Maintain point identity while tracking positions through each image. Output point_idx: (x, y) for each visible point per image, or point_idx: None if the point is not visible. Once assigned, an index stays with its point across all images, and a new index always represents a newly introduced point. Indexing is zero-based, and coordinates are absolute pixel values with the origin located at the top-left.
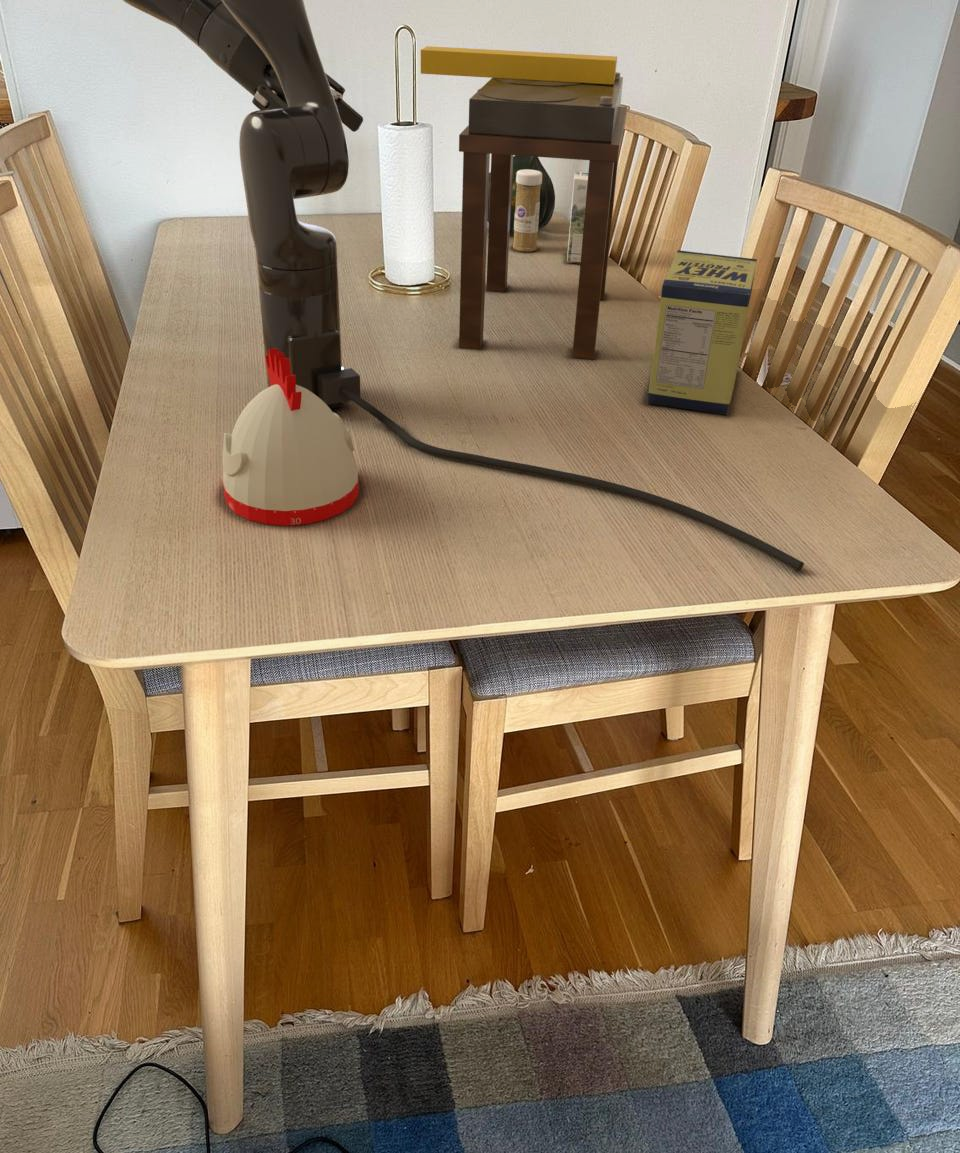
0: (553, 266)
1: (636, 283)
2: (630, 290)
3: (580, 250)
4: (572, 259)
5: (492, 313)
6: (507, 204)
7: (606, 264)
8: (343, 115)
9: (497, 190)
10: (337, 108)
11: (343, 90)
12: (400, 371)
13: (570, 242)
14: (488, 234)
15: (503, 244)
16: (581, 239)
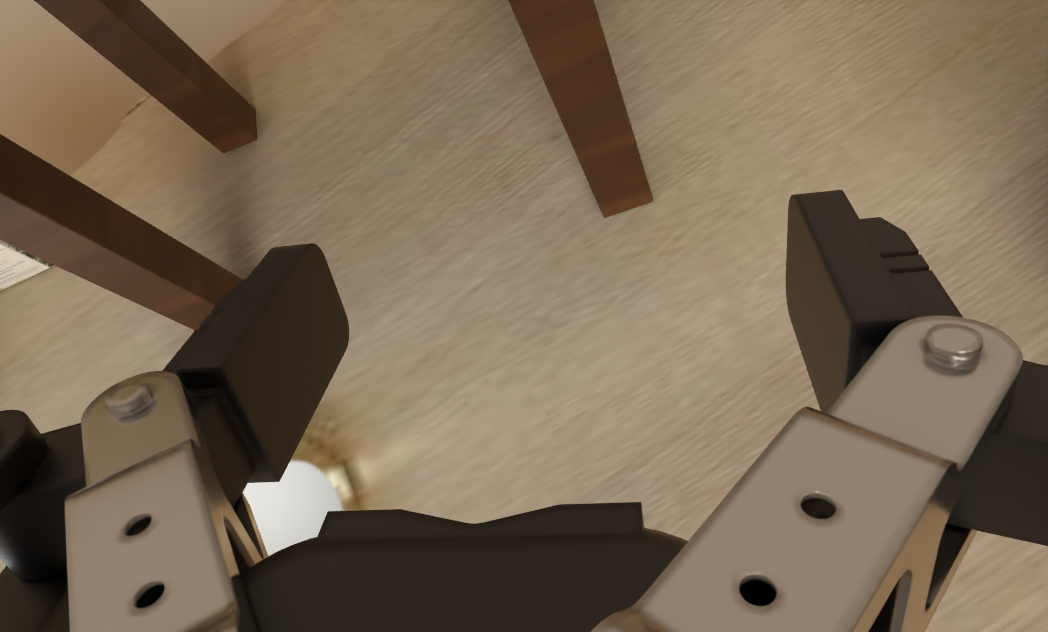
0: (75, 284)
1: (143, 107)
2: None
3: None
4: None
5: (407, 249)
6: (97, 194)
7: (203, 60)
8: (288, 380)
9: (60, 203)
10: (254, 418)
11: (1, 418)
12: None
13: (9, 244)
14: (167, 279)
15: (184, 251)
16: None
